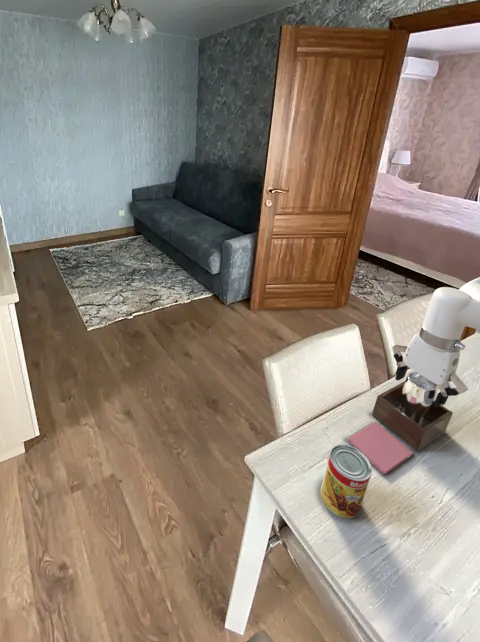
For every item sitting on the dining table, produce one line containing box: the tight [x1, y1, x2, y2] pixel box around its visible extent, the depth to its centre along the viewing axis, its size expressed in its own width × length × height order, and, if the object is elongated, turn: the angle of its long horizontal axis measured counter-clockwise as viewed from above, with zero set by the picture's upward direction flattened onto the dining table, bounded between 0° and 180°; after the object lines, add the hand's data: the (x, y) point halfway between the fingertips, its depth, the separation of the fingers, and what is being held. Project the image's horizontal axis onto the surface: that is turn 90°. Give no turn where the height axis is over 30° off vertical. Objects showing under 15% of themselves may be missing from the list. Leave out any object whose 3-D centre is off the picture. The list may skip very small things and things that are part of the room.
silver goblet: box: [398, 371, 439, 426], centre depth 91 cm, size 7×7×15 cm
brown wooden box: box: [371, 380, 454, 452], centre depth 93 cm, size 12×12×7 cm
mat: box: [347, 421, 414, 476], centre depth 87 cm, size 11×10×1 cm
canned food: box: [320, 443, 373, 519], centre depth 73 cm, size 8×8×12 cm
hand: (418, 390), depth 90 cm, fingers open, 9 cm apart
